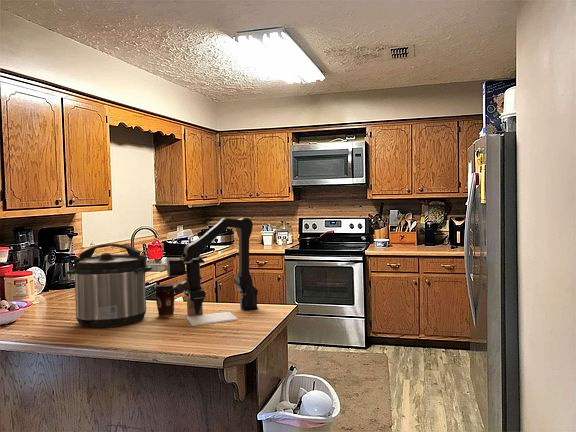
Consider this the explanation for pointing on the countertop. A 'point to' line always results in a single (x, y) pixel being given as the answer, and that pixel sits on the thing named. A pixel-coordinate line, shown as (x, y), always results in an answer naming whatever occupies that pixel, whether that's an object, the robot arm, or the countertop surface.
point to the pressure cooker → (110, 287)
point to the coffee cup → (165, 299)
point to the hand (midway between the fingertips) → (195, 311)
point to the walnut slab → (192, 309)
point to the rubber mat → (211, 318)
